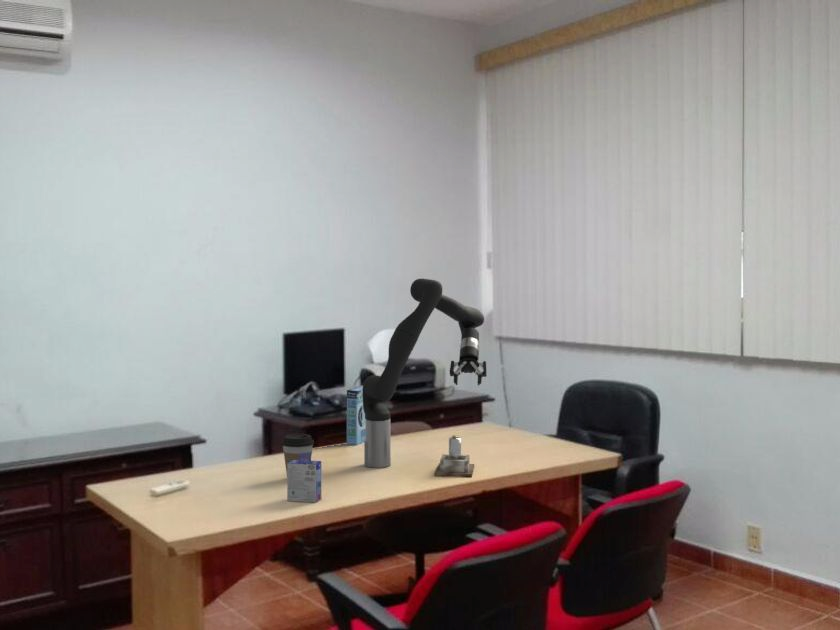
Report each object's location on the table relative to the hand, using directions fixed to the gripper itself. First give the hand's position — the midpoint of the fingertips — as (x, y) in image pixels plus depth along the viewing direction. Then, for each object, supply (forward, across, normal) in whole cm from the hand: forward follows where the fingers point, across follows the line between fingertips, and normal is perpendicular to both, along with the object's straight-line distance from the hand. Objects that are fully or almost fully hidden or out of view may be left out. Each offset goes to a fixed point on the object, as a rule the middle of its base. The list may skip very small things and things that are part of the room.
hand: (467, 383), depth 329 cm
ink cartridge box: (+68, -47, -27) cm, 87 cm away
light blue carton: (0, -47, +40) cm, 62 cm away
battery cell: (+36, -3, +4) cm, 36 cm away
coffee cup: (+49, -56, -8) cm, 75 cm away
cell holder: (+36, -3, +4) cm, 37 cm away
